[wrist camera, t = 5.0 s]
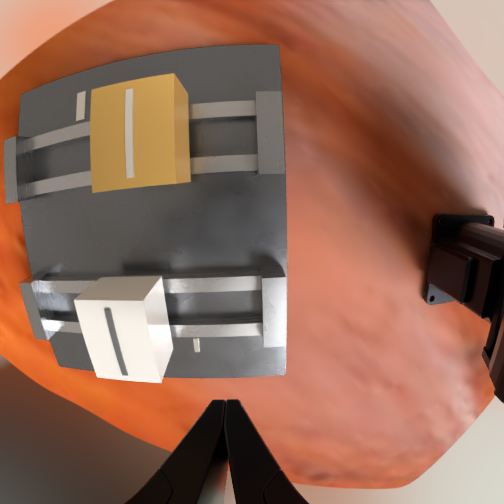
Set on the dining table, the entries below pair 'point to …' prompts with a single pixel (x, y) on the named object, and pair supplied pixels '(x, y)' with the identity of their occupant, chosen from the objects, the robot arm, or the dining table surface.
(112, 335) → the fader ivory
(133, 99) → the fader amber
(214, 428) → the robot arm
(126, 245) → the console
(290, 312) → the dining table surface
